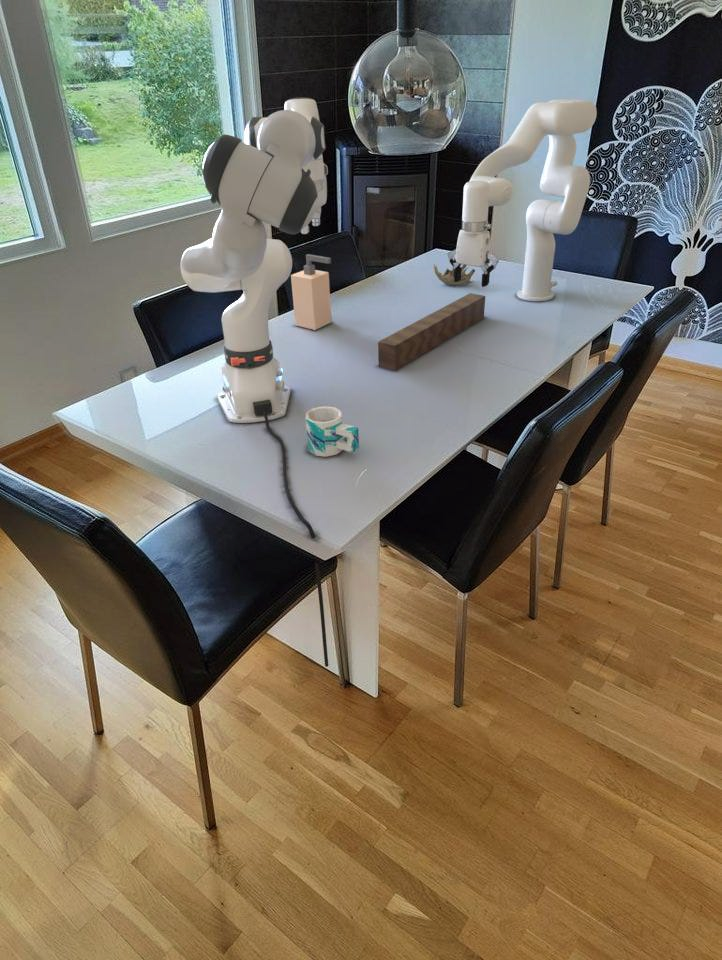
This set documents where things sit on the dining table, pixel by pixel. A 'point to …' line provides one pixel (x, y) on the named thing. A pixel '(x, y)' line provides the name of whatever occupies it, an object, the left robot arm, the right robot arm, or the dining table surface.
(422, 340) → the bar
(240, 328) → the left robot arm
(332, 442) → the mug
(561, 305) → the dining table surface
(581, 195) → the right robot arm
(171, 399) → the dining table surface
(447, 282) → the jawbone
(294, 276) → the soap dispenser
